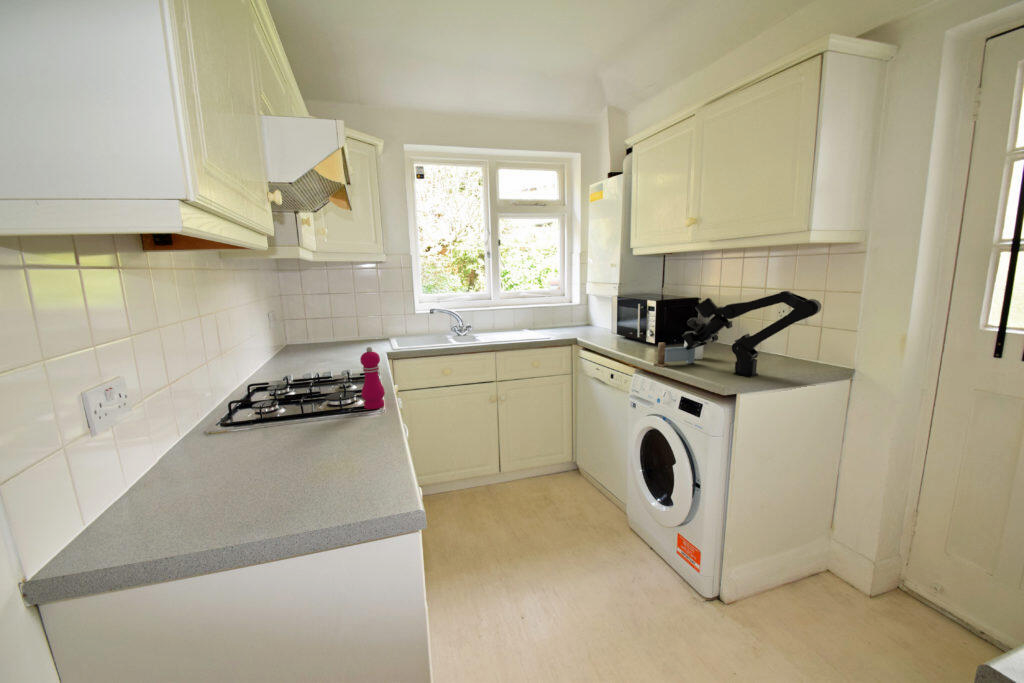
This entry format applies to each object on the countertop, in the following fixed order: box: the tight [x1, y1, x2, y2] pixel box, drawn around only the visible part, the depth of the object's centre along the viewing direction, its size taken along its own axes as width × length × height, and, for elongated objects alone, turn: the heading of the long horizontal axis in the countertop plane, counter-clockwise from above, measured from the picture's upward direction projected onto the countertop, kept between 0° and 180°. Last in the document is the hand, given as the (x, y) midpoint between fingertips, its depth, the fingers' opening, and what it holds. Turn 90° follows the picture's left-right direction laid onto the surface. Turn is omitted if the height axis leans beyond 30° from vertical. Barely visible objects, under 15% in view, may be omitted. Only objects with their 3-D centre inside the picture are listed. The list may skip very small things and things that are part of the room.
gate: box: [665, 346, 695, 365], centre depth 181 cm, size 13×2×8 cm, turn 100°
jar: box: [683, 330, 704, 360], centre depth 192 cm, size 9×8×12 cm
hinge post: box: [653, 342, 670, 368], centre depth 179 cm, size 4×4×10 cm
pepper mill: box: [360, 346, 386, 410], centre depth 135 cm, size 7×7×20 cm
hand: (686, 349), depth 180 cm, fingers closed
